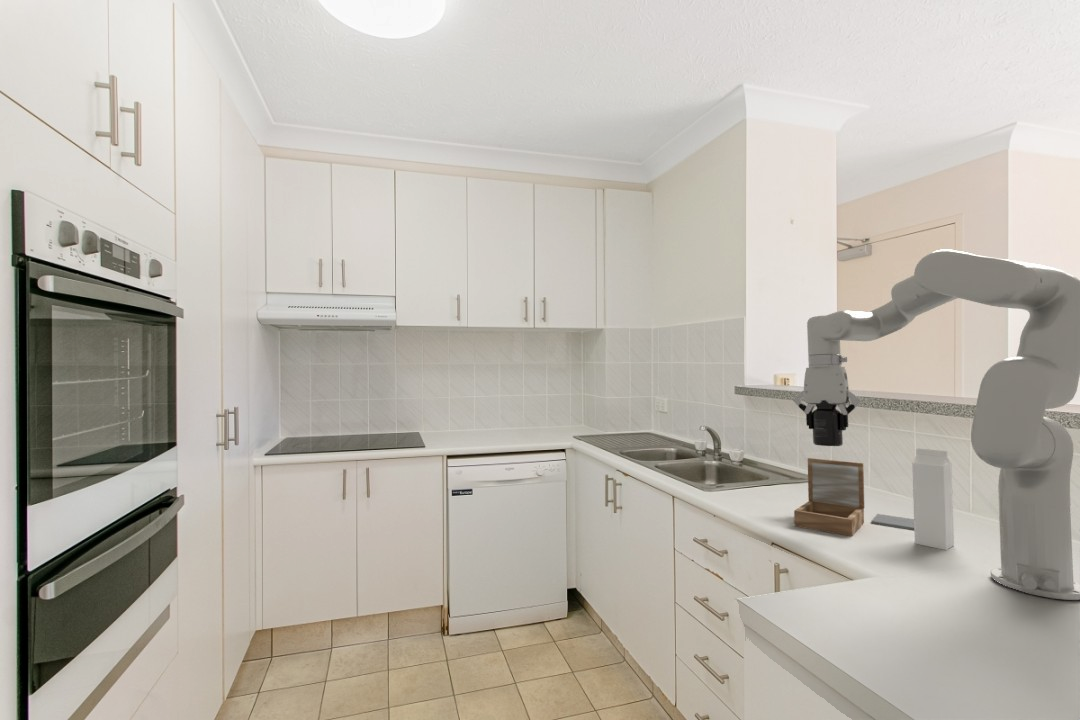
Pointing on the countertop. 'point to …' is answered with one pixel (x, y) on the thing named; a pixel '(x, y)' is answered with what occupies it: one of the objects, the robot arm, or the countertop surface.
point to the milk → (933, 499)
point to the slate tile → (894, 521)
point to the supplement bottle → (826, 425)
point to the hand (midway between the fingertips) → (827, 428)
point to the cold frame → (833, 497)
